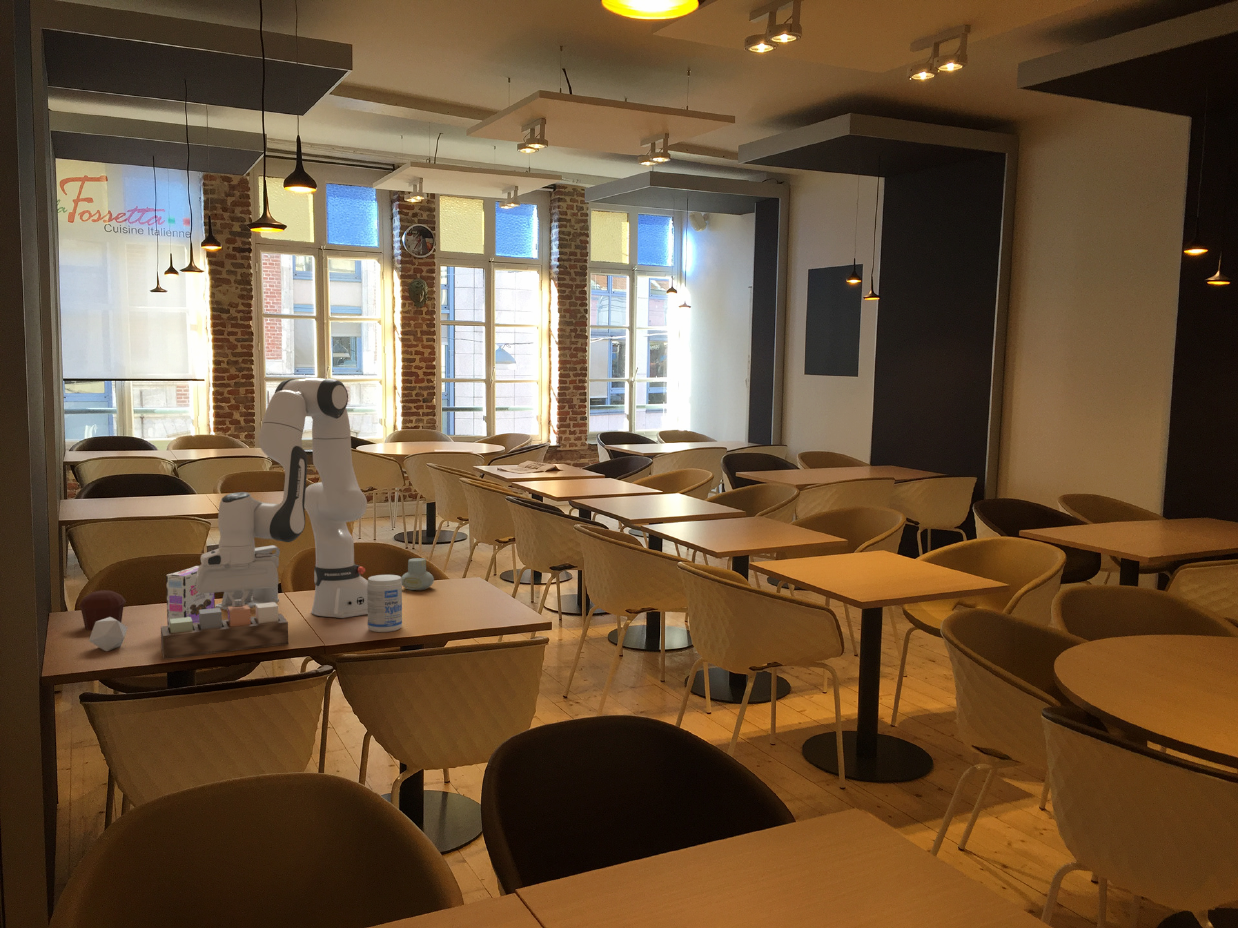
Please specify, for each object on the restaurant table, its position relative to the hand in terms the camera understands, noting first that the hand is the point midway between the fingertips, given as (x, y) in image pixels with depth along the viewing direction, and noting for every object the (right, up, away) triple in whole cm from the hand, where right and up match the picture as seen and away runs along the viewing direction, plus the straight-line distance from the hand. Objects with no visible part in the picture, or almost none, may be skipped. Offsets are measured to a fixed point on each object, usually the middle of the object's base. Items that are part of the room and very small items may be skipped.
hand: (238, 606), depth 253 cm
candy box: (-20, -9, +18) cm, 29 cm away
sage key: (-12, -8, -6) cm, 16 cm away
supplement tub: (+34, -9, +19) cm, 40 cm away
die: (-32, -11, -3) cm, 34 cm away
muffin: (-45, -9, +18) cm, 50 cm away
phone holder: (-15, -6, +46) cm, 49 cm away
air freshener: (+33, -5, +69) cm, 77 cm away
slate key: (-6, -6, -3) cm, 9 cm away
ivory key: (+6, -5, +4) cm, 9 cm away
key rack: (-3, -10, -1) cm, 11 cm away
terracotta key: (0, -5, +1) cm, 5 cm away
